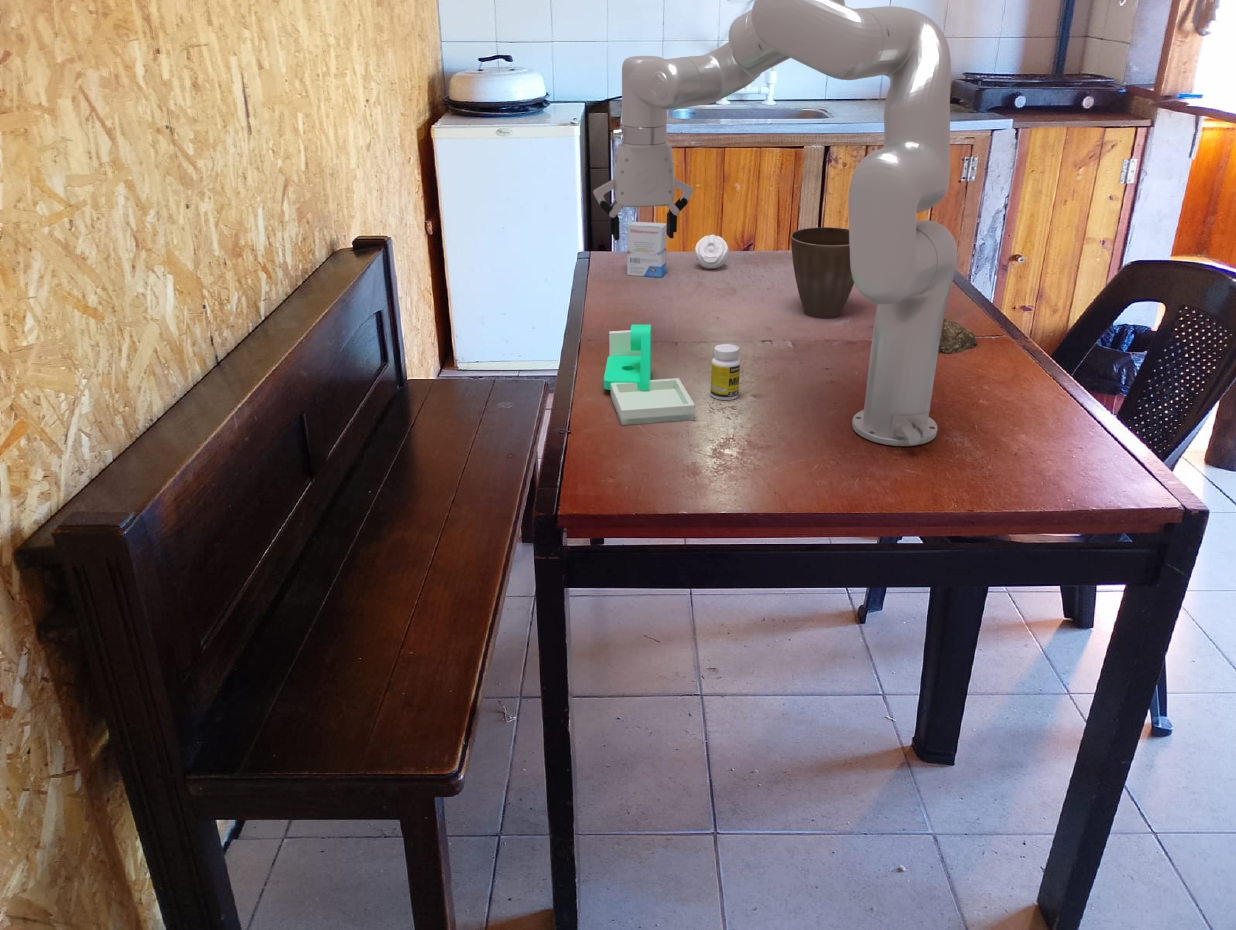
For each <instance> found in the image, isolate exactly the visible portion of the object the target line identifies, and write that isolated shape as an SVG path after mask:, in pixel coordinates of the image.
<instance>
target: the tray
mask: <svg viewBox="0 0 1236 930" xmlns="http://www.w3.org/2000/svg"><path fill="white" fill-rule="evenodd" d="M610 388H611V390H610V399H611V402H612V403H613V406H614V409H615V411H616V413H617V417H618V419H619V421H620V424H621V426H630V425H632V426H633V425H642V424H654V423H655V424H657V423H668V422H683V421H692V420H693V421H695V420H696V419H695V412H696V406H695V403H694V401H693V399H692V398H691V396H690V394H689V393H688V391H687V390H686V388H685V386H684V383H682V381H681V379H680V378H679V377H676V378H662V379H661V378H659V379H651V380H650V381H649V390H637V383H610Z"/></svg>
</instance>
